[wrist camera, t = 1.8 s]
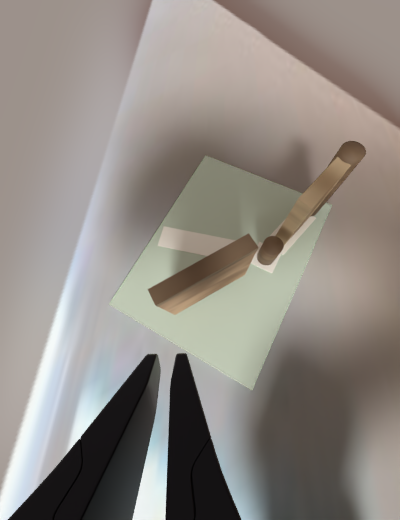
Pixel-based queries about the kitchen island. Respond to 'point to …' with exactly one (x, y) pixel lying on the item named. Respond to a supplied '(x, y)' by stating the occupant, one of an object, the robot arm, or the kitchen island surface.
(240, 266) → the tan wooden plank
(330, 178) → the tan piece
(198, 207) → the card
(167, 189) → the kitchen island surface
